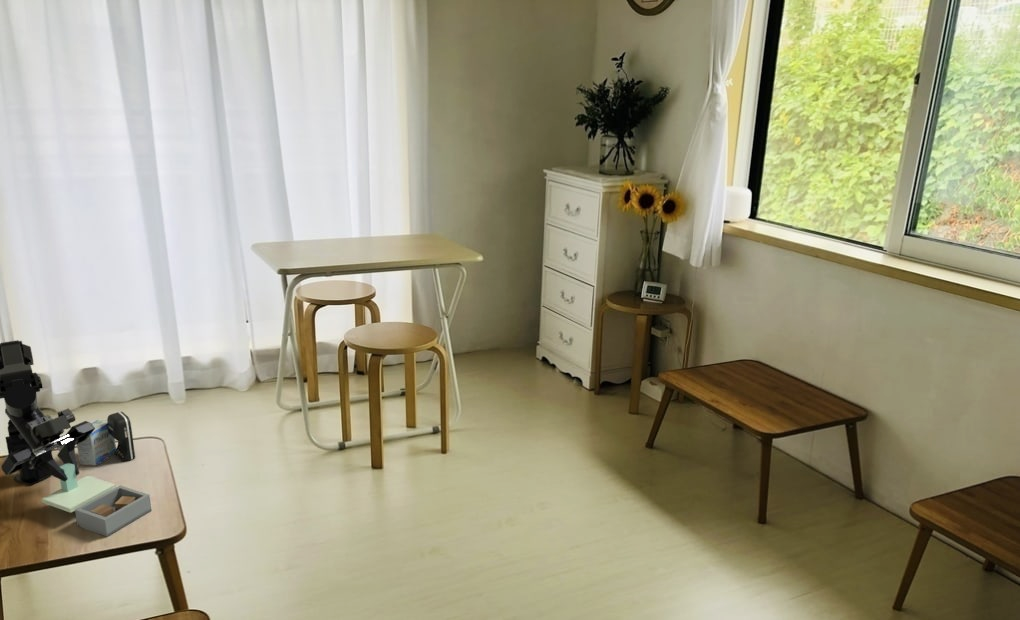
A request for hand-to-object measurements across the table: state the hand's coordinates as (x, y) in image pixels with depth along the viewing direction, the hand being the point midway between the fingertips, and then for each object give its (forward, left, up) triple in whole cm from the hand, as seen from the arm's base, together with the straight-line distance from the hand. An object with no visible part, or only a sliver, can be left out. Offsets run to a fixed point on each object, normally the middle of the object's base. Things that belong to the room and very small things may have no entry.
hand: (72, 477), depth 163 cm
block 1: (+12, -2, -7) cm, 14 cm away
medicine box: (-15, +17, -7) cm, 24 cm away
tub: (+12, 0, -7) cm, 14 cm away
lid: (+2, 0, -4) cm, 4 cm away
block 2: (+13, +2, -7) cm, 15 cm away
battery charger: (-10, +20, -7) cm, 23 cm away
